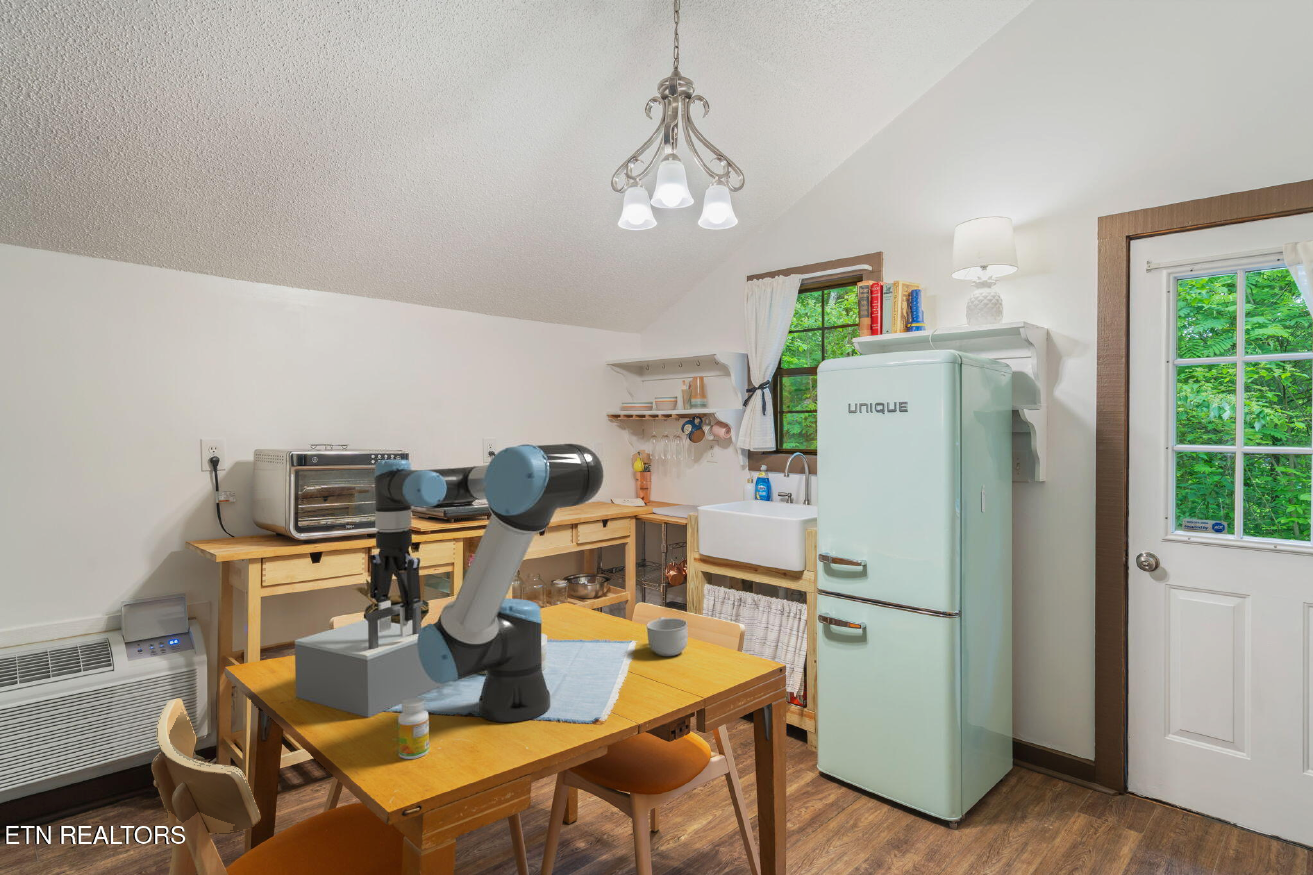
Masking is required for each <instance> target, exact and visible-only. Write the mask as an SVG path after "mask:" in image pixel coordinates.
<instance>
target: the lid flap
mask: <svg viewBox="0 0 1313 875" xmlns="http://www.w3.org/2000/svg"><path fill="white" fill-rule="evenodd" d="M400 605H403V604H402V603H401V604H398V605H394V606H391V607H387V608H384V609H380V610H377V611H373V612H370V613H367V614H366V619H363V620H360V621H356V622H353V623H349V624H346V625H343V626H338V627H337V628H333V629H329V630H325V631H322V632H318V633H316V634H311V635H307V636H305V637H301V638H299V639H298V638H297V639H295V640H294V645H295V644H297V645H302V646H306V647H311V648H315V649H320V650H324V651H329V652H333V653H338V654H342V655H347V656H351V657H356V658H360V659H365V660H369V659H372V658H375V657H378V656H380V655H383V654H386V653H389V652H392V651H395V650H397V649H400V648H403V647H406V646H409V645H412V644H414V643H417V639H418V634H419V631H420V630H421V628H422V622H421V607H422V605H423V602H422V600H421V602H419V603H416V604H414V607H413V609H414V618H413V620H412V634H409V635H407V636H404V637H401V636H400V624H396V623H391V630H388V631H385V632H382V633H381V632H379V619H382V618H386V617H389V616H392V615H396V614H399V613H400Z"/></svg>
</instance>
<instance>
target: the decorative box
mask: <svg viewBox="0 0 1313 875" xmlns="http://www.w3.org/2000/svg"><path fill="white" fill-rule="evenodd" d="M400 572H402V571H400ZM365 582H366V587H364V586H359V587H358V586H357V587H352V588H351V589H352V590H354V591H357V592H358V593H359V594H361V595H362V596H364V597H365V598H367V599H368V600H369V601H370V602H371V604H369V605H368V606H366V607H365V610H364V613H363V620H366V614H367V613H370V612H373V611H377V602H376V600H375V599H374V598H373V599H371V598H370V581H369V580H368V579H367V578H366V579H365ZM375 592H377V591H375ZM390 594H391V593H390V592H389V596H388V597H390V599H389V600H386V601H391V606H394V605H398V604H401V603H402V599H401V595H400V594H393V595H390ZM407 600H408V599H407ZM421 600H422V602H423V605H422V607H421V623H422V622H423V620H424V619H425V618H426V616H427V615H428V614H429V611H430V602H429V601H427V600H425V599H423V598H422V597H421ZM391 623H396V624H400V613H399V614H396V615H392V616H391Z"/></svg>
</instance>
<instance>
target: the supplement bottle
mask: <svg viewBox="0 0 1313 875" xmlns="http://www.w3.org/2000/svg"><path fill="white" fill-rule="evenodd" d="M425 707H426V706H425V699H424V698H422V697H419V696H417V697H414V698H409V699H406V700H404V701H403V702H402V703H401V711H402V712H401V713H400V714H399V715H398V717H397V730H398V731H397V734H398V737H397V739H398V742H397V743H398V746H397V747H398V756H399V757H400V758H401V759H405V760H414V759H415V760H416V759H419V758H422V757H424V756H425V755H427V754H428V753H429V751H430V731H429V730H430V728H429V727H430V724H429V723H430V720H429V718H430V717H429V712H428V711H427V710H426V709H425Z"/></svg>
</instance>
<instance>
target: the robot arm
mask: <svg viewBox="0 0 1313 875" xmlns="http://www.w3.org/2000/svg"><path fill="white" fill-rule="evenodd" d="M604 477H605V476H604V468H603V463H602V462H601V460H600V458H599V456H598V455H597V454H596V453H595V452H594V451H593V450H591V449H590V448H589V447H587V446H584V445H581V444H577V443H562V444H557V443H556V444H544V445H543V444H542V445H541V444H540V445H533V444H519V445H516V446H508V447H506V448H503V449H502V450H499V451H498V452H497V453H496V454H495V455H494V456H493V457H492V459H490V462H488V464H484V465H474V466H466V467H465V466H464V467H463V466H462V467H453V468H451V467H450V468H433V469H412V466H411V462H410V460H407V459H382V460H378V461H376V463H375V466H374V476H373V480H374V499H375V501H374V502H375V503H374V505H375V506H374V507H375V511H374V513H375V514H374V516H375V521H374V523H375V525H374V526H375V529H376V530H377V531H376V532H375V547H376V548H377V549H379V550H378V553H376V554H370V555H369V557H368V558H369V564H370V581H369V582H370V594H369V595H370V598H371V599H373V600H374V601H376V602H377V610H380V609H384V608H387V607H391V601H386V600H389V599H390V597H388V596H389V593H390V590H391V586H392V581H393V577H395V578H396V581H397V586H398V591H399V595H401V599H402V604H403V605H400V636H401V637H404V636H407V635H409V634H412V620H413V618H414V609H413V607H414V604H416V603H419V602H421V598H422V597H421V596H422V595H421V580H420V565H421V558H420V557H413V556H411V552H410V547H411V546H412V544H413V532H412V531H413V530H411V527H412V506H415V507H419V508H427V507H429V508H431V507H435V506H437V505H438V504H446V503H447V504H449V503H455V502H456V503H457V502H467V501H482V500H486V502H487V505H488V506H487V507H488V510H489V512H490V513H491V516H490V518H489V521H488V522H487V525H486V527H485V530H484V532H483V534H482V537H481V539H480V541H479V544H478V546H477V549H475V550H476V551H475V553H474V556H473V558H472V560H471V562H470V565H469V567H468V570H467V571H466V574H465V577H464V578H463V581H462V583H461V586H460V588H459V591H458V592H457V595H456V597H455V598H454V600H451V601H450V602H448V603H447V604H446V605H445V606H444V607H443V608H442V610H441V611H440V612H441V613H440V615H439V617H438V619H437V621H436V622H433V623H427V624H426V625H424V626H421V630H420V631H419V634H418V639H417V648H418V654H419V658H420V661H421V664H422V667H423V669H424V671H425V672H426V674H427V675H428V677H429V678H430V679H431V680H433V681H434V682H436V683H440V685H441V684H443V685H444V684H446V683H450V682H453V683H454V682H457V681H458V680H461V679H464V678H468V677H470V676H474V675H477V674H480V673H482V672H485V673H486V675H485V678H484V682H483V684H482V687H481V688H482V689H481V692H480V695H479V698H478V704H477V706H478V714H479V716H481V717H482V718H483V719H485V720H488V721H493V722H498V723H499V722H501V723H516V722H523V721H527V720H532V719H534V718H537V717H540V716H542V715H543V714H545V713H547V711H549V709H550V707H551V693H550V692H549V689H548V686H547V682H546V678H545V676H544V673H543V669H542V668H543V667H542V664H543V663H542V659H543V658H542V624H543V621H542V614H541V613H542V612H541V607H540V606H539V604H538V603H536V602H534V601H532V600H528V599H527V600H526V599H521V598H520V599H519V598H506V597H507V595H508V593H509V591H510V588H511V587H512V584H513V582H514V580H515V578H516V576H517V574H518V571H519V569H520V568H521V565H522V563H523V560H524V558H525V556H526V554H527V553H528V551H529V549H530V547H531V544H532V542H533V539H534V537H535V535H536V533H541V532H543V531H545V530H546V529H547V528H548V527H549V525H550V523H551V521H552V519H553V516H554V514H555V512H556V511H557V510H558V509H562V508H569V507H571V508H572V507H576V506H582V505H584V504H586V503H587V502H589V501H591V500H592V499H593V498H595V497H596V495H597V494H598V493H599V491H600V489H601V488H602V486H603V482H604ZM401 571H402V572H401ZM376 591H377V592H376ZM407 599H408V600H407ZM388 630H391V616H389V617H386V618H382V619H379V632H381V633H382V632H385V631H388Z"/></svg>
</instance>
